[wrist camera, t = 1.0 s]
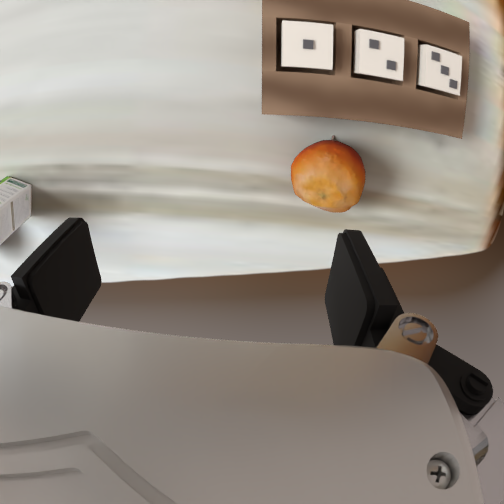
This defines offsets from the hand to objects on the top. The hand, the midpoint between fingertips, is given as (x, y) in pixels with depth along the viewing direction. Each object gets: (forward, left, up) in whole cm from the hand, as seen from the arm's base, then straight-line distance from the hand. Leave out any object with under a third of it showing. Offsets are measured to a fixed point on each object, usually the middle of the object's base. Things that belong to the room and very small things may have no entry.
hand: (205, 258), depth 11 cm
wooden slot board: (-9, +13, -26) cm, 30 cm away
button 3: (-9, +20, -22) cm, 31 cm away
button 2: (-9, +13, -22) cm, 27 cm away
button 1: (-9, +6, -22) cm, 24 cm away
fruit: (+4, +9, -26) cm, 28 cm away
